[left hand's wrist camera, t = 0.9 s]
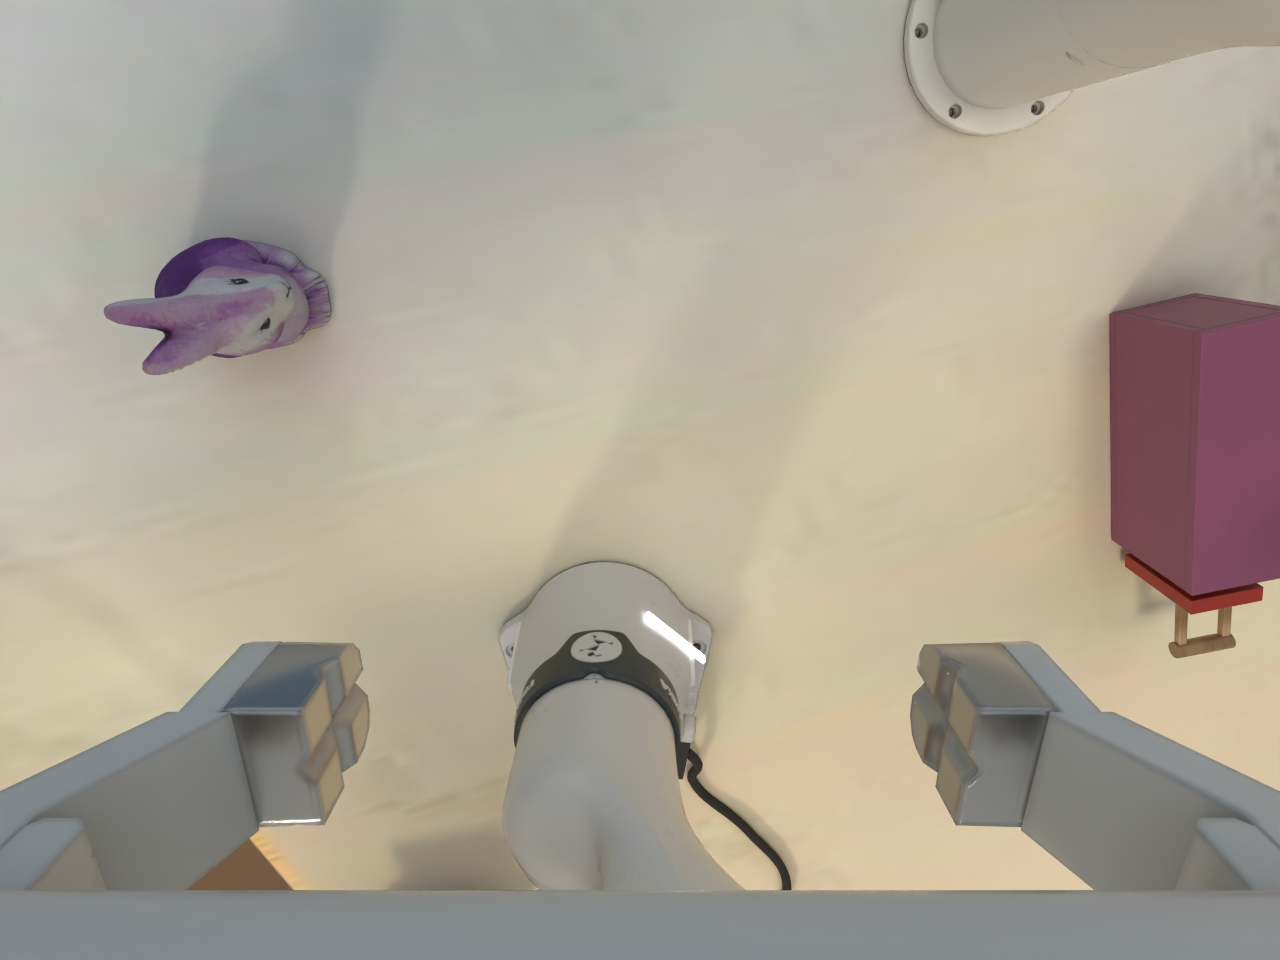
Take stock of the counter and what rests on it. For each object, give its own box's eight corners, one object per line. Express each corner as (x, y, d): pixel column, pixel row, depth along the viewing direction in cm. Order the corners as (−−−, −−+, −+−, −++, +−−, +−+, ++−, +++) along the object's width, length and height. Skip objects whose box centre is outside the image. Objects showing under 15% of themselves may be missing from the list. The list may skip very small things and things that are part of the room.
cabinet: (1188, 523, 60) (1283, 578, 51) (1111, 539, 60) (1191, 596, 51) (1196, 292, 53) (1307, 309, 44) (1109, 313, 53) (1201, 333, 45)
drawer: (1185, 609, 62) (1257, 662, 54) (1124, 621, 62) (1188, 675, 55) (1194, 340, 53) (1281, 360, 46) (1124, 356, 54) (1199, 378, 47)
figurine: (363, 288, 53) (263, 316, 39) (282, 383, 55) (160, 441, 41) (257, 190, 50) (109, 182, 36) (177, 293, 53) (10, 323, 39)
